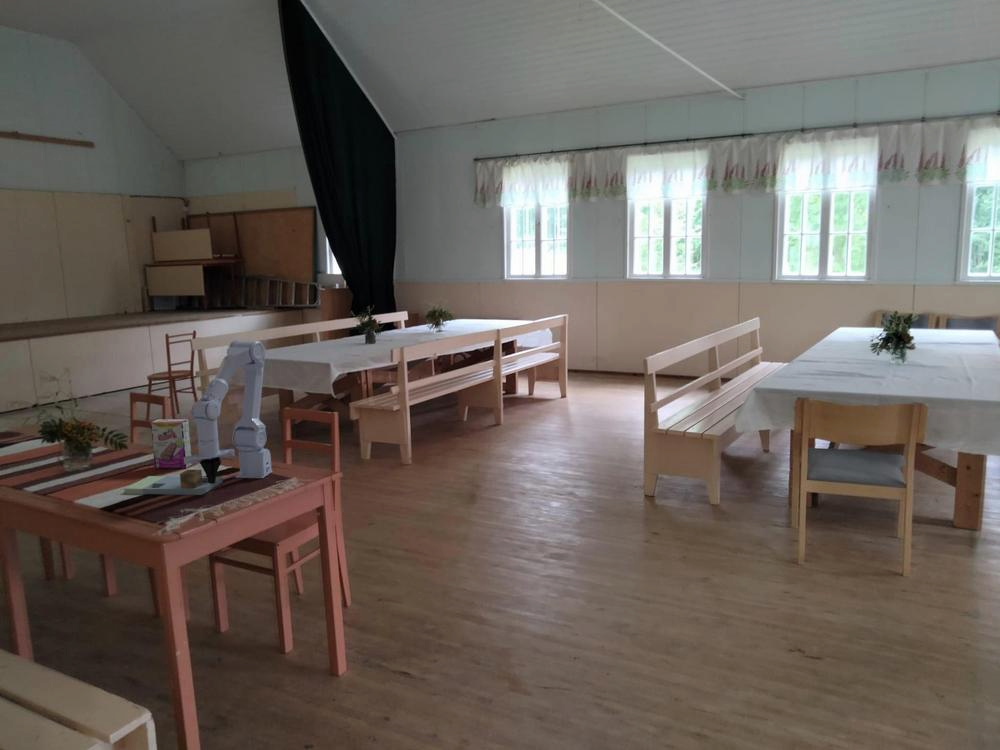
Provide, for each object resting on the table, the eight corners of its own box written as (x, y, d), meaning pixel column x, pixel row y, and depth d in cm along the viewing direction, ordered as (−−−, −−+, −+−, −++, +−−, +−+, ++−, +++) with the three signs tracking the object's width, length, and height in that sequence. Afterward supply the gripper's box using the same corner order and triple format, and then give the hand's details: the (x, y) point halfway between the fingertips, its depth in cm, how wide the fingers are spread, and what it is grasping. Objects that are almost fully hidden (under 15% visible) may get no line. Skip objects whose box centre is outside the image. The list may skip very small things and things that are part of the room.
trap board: (222, 482, 236) (222, 477, 236) (202, 494, 224) (201, 489, 223) (149, 480, 239) (148, 476, 239) (124, 493, 227) (124, 488, 226)
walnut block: (202, 483, 229) (201, 469, 229) (195, 488, 225) (193, 474, 224) (188, 483, 230) (187, 469, 229) (181, 488, 226) (179, 473, 225)
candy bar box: (154, 469, 253) (149, 422, 250) (161, 465, 258) (156, 419, 255) (186, 469, 253) (182, 421, 250) (193, 464, 258) (188, 418, 255)
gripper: (227, 433, 232) (231, 475, 234) (179, 441, 223) (183, 484, 225) (235, 437, 227) (239, 480, 229) (186, 445, 218) (190, 490, 220)
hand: (211, 482), depth 227 cm, fingers closed
